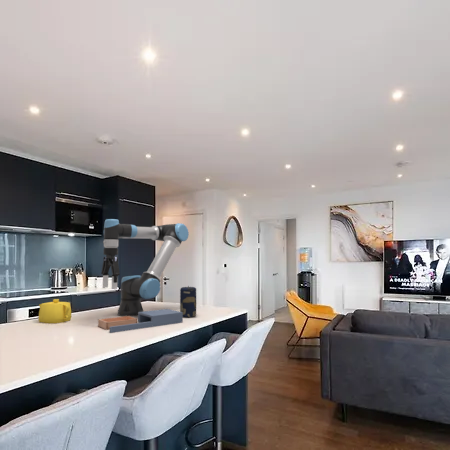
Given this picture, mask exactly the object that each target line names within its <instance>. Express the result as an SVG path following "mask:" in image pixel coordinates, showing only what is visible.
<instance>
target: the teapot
mask: <svg viewBox="0 0 450 450" xmlns="http://www.w3.org/2000/svg"><path fill="white" fill-rule="evenodd" d="M38 307H39V311H38V322H39V323H40V324H41V323H42V324H55V325H56V324H62V323H65V322H69V321H71V319H72V308H71V302H70V301H68V302H67V301H60V299H59V298H54V299H52V301H49V302H44V303H43V302H42V303H40V304H38Z"/></svg>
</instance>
